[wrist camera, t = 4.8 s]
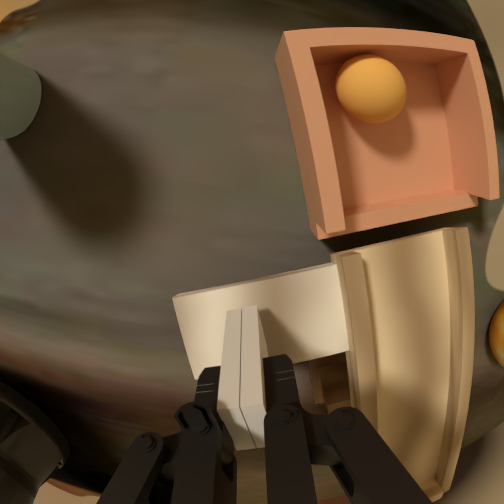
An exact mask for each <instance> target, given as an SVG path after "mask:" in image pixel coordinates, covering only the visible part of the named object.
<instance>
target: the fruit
mask: <svg viewBox="0 0 504 504" xmlns="http://www.w3.org/2000/svg"><path fill="white" fill-rule="evenodd" d="M489 343H490V347H491V350H492V353H493V355H494V357H495V358H496V360H497V361H498V362H499V364H500V365H502V366H503V367H504V301H503V302H502V303H501V304H500V306H499V307H498V308H497V310H496V312H495V313H494V315H493V317H492V320H491V324H490V328H489Z"/></svg>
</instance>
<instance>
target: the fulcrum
mask: <svg viewBox="0 0 504 504" xmlns="http://www.w3.org/2000/svg"><path fill="white" fill-rule="evenodd" d="M308 362H309V369H310V376H311V383H312V390H313V398H314V402H315V405H316V404H320V403H325V406H326V410H327V413H328V415H329V414H330V412H332V411H334V410H335V409H337V408H341V407H351V398H350V388H349V379H348V370H347V361H346V353H345V352H341V353H337V354H333V355H329V356H325V357H321V358H316V359H312V360H308Z"/></svg>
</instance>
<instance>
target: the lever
mask: <svg viewBox="0 0 504 504" xmlns="http://www.w3.org/2000/svg"><path fill="white" fill-rule="evenodd" d="M330 258H331V263H327V264H322V265H318V266H313V267H308V268H304V269H299V270H295V271H290V272H285V273H280V274H276V275H271V276H266V277H261V278H256V279H252V280H247V281H242V282H237V283H232V284H227V285H222V286H217V287H212V288H207V289H201V290H196V291H191V292H186V293H180V294H177V295H176V296H174V297H173V298H172V299H173V303H174V307H175V311H176V315H177V319H178V323H179V327H180V330H181V334H182V337H183V341H184V345H185V348H186V352H187V355H188V358H189V362H190V365H191V368H192V372H193V375H194V378H195V379H198V378H199V375H200V374H201V372H202V371H203V370H204V368H207V367H214V366H221V360H222V350H223V341H224V331H225V322H226V313H227V311H229V310H235V309H240V308H241V309H242V308H245V307H250V306H255V305H257V307H258V311H259V316H260V320H261V324H262V328H263V332H264V336H265V340H266V344H267V350H268V357H271V356H276V355H281V354H286V355H287V356H288V357H289V358H290V359H291V360H292V364H294V363H298V362H303V361H308V360H312V359H316V358H321V357H325V356H329V355H333V354H337V353H341V352H345V353H346V361H347V370H348V379H349V388H350V398H351V407H353V408H357V409H359V410H360V411H361V412H362V413H363V414H364V415H365V417H366V418H367V419H368V421H369V422H370V423H371V424H372V426H373V427H374V428H375V430H376V431H377V432H378V434H379V435H380V436H381V437H382V439H383V440H384V441H385V443H386V444H387V445H388V446H389V448H390V449H391V450H392V452H393V453H394V454H395V455H396V457H397V458H398V459H399V461H400V462H401V463H402V464H403V466H404V467H405V468H406V470H407V471H408V472H409V473H410V475H411V476H412V477H413V479H414V480H415V481H416V482H417V484H418V485H419V486H420V488H421V489H422V490H423V491H424V493H425V494H426V495H427V496H428V498H429V499H430V500H431V502H433V501H436V500H438V499H440V498H442V495H443V492H445V491H447V490H449V488H450V485H451V482H452V479H453V475H454V472H455V468H456V464H457V461H458V457H459V452H460V448H461V444H462V439H463V434H464V429H465V424H466V418H467V412H468V406H469V399H470V391H471V382H472V371H473V358H474V334H475V307H474V283H473V269H472V258H471V249H470V241H469V233H468V227H453V228H441V229H436V230H432V231H428V232H424V233H419V234H415V235H411V236H407V237H402V238H398V239H394V240H389V241H385V242H380V243H376V244H372V245H367V246H363V247H358V248H354V249H349V250H345V251H340V252H336V253H331V254H330Z"/></svg>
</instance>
